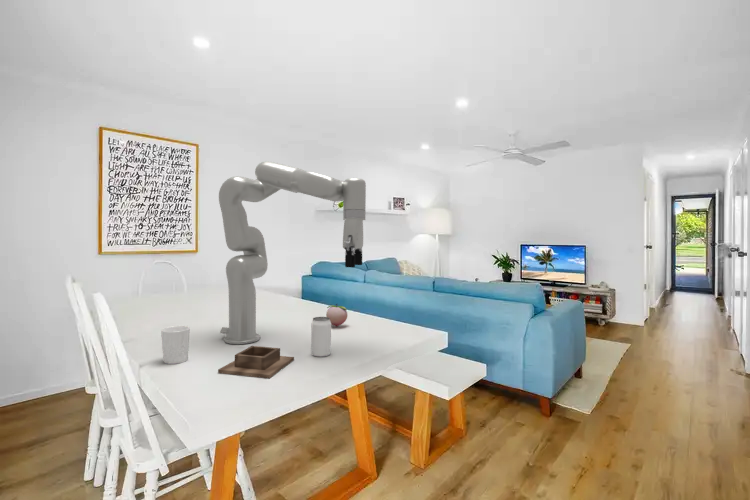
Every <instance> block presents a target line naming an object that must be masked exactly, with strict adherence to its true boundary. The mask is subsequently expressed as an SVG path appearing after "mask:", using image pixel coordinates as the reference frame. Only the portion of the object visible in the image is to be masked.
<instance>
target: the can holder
mask: <svg viewBox="0 0 750 500" xmlns="http://www.w3.org/2000/svg"><path fill="white" fill-rule="evenodd" d="M294 360H295V357H294V356H287V355H281V347H268V346H259V345H258V346H257V345H251V346H249V347H247V348H245V349H244V350H241V351H239V352H238V353H236V354H234V360H232V361H231V362H229V363H227V364H226V365H224V366H222V367H220V368H219V369H218V370H217V373H218V374H224V375H233V376H235V375H236V376H242V377H243V376H244V377H252V378H263V379H271V378H272V377H274V376H275V375H276V374H277V373H279V372H280V371H282V370H283V369H285V368H286V367H287V366H288V365H290V364H291V363H292V362H293V361H294ZM281 369H282V370H281Z"/></svg>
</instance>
